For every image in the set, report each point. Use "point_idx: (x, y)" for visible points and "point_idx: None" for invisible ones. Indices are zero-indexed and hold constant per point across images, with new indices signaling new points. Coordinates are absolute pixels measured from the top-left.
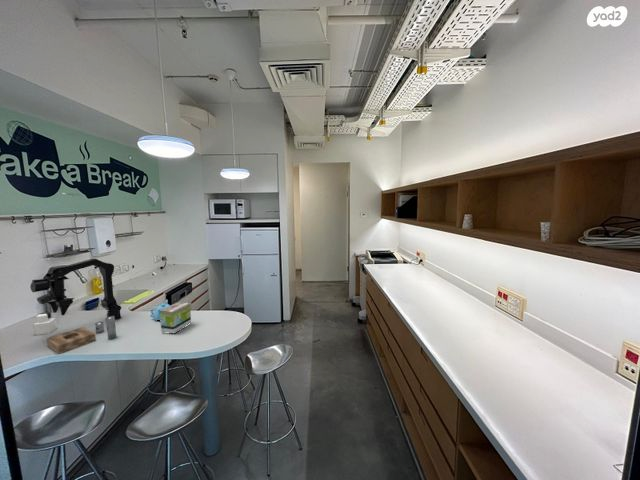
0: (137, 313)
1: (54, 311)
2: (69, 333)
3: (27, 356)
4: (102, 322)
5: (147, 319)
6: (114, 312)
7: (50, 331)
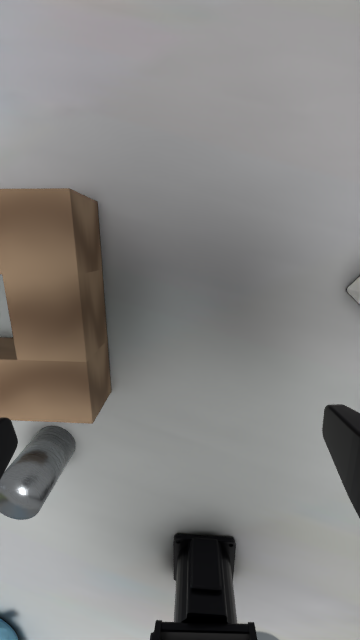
0: None
1: (338, 432)
2: (33, 329)
3: (19, 62)
4: (6, 512)
5: (28, 603)
6: (174, 614)
7: (355, 297)
